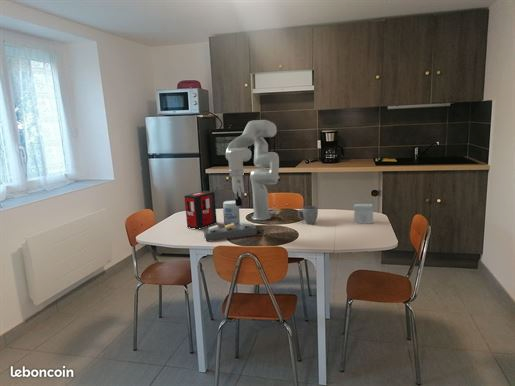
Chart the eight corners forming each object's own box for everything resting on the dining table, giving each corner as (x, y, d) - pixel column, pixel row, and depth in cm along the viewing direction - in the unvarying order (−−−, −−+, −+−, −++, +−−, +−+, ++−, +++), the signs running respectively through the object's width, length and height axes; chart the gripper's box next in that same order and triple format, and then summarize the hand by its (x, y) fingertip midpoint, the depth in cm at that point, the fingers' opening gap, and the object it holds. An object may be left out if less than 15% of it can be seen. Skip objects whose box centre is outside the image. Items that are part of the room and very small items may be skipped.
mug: (319, 221, 232) (318, 205, 230) (316, 225, 224) (316, 209, 222) (299, 221, 236) (298, 205, 234) (296, 225, 227) (296, 209, 225)
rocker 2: (249, 224, 217) (249, 222, 217) (251, 226, 213) (251, 224, 213) (240, 223, 215) (240, 221, 215) (242, 225, 212) (242, 223, 212)
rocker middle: (233, 224, 214) (233, 222, 214) (235, 226, 211) (234, 224, 211) (225, 227, 213) (224, 225, 213) (226, 229, 210) (225, 227, 210)
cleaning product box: (206, 221, 247) (204, 190, 243) (216, 223, 241) (214, 191, 237) (187, 228, 234) (184, 195, 230) (197, 229, 228) (194, 197, 225)
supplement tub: (226, 228, 227) (224, 204, 225) (222, 224, 236) (221, 201, 234) (242, 226, 230) (240, 202, 227) (238, 222, 239) (236, 199, 236)
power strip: (261, 229, 222) (261, 221, 221) (265, 233, 214) (265, 225, 213) (204, 237, 213) (203, 228, 212) (206, 241, 206) (205, 232, 205)
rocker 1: (217, 226, 212) (217, 224, 212) (218, 228, 209) (218, 226, 208) (208, 229, 211) (208, 227, 211) (209, 231, 208) (209, 229, 207)
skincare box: (372, 220, 227) (372, 203, 225) (373, 223, 221) (373, 206, 219) (354, 220, 230) (354, 203, 228) (354, 223, 224) (354, 206, 222)
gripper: (246, 174, 201) (248, 208, 205) (240, 170, 216) (242, 202, 219) (231, 175, 200) (234, 209, 204) (227, 171, 214) (229, 203, 218)
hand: (238, 205), depth 212 cm, fingers closed
